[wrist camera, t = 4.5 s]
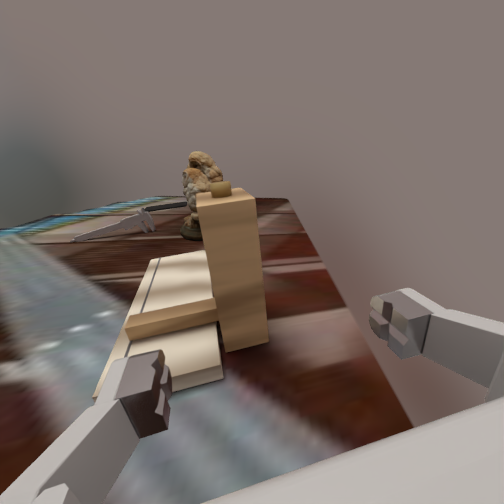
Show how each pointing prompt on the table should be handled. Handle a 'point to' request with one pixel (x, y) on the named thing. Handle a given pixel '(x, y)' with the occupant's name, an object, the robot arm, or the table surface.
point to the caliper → (121, 225)
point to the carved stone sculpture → (197, 189)
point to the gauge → (221, 275)
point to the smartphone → (165, 206)
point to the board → (180, 341)
